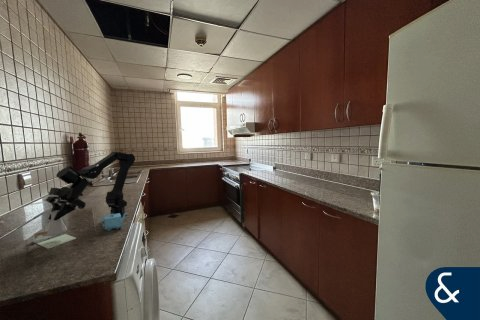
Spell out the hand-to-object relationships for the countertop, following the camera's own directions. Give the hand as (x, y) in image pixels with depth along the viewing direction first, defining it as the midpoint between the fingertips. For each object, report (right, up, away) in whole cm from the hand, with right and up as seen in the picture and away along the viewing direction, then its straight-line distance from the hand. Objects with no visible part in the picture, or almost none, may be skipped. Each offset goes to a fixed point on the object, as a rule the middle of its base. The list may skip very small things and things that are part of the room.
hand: (52, 219), depth 89 cm
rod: (-7, -8, +6) cm, 12 cm away
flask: (+1, -7, +2) cm, 7 cm away
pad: (+1, -10, +2) cm, 10 cm away
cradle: (-7, -10, +6) cm, 14 cm away
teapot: (+18, -9, +16) cm, 26 cm away
